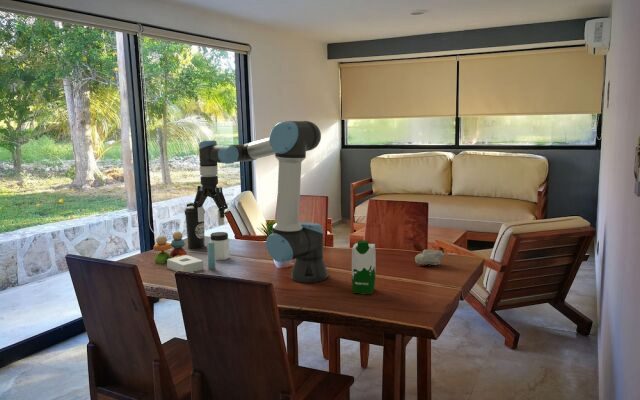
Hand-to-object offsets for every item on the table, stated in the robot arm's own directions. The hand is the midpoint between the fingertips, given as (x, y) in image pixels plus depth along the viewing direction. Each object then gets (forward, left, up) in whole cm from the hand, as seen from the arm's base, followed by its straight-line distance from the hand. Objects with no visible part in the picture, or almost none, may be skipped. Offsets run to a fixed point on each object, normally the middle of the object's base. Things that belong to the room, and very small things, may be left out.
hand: (211, 223), depth 230 cm
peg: (-2, +2, -20) cm, 20 cm away
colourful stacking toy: (+26, +4, -20) cm, 33 cm away
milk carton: (-71, -21, -20) cm, 77 cm away
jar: (+11, -11, -20) cm, 26 cm away
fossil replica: (-69, -68, -20) cm, 99 cm away
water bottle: (+39, -15, -20) cm, 47 cm away
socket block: (+7, +10, -20) cm, 24 cm away
